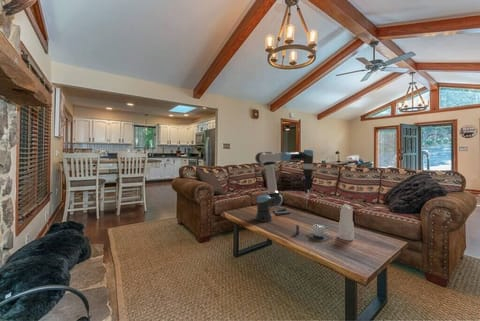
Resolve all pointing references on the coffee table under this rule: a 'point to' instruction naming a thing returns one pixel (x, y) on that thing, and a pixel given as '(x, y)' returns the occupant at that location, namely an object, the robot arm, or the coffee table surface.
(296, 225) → the stand
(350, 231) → the decorative vase
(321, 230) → the grey octagonal holder
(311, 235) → the square peg base
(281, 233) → the coffee table surface
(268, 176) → the robot arm
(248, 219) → the coffee table surface
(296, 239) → the coffee table surface
